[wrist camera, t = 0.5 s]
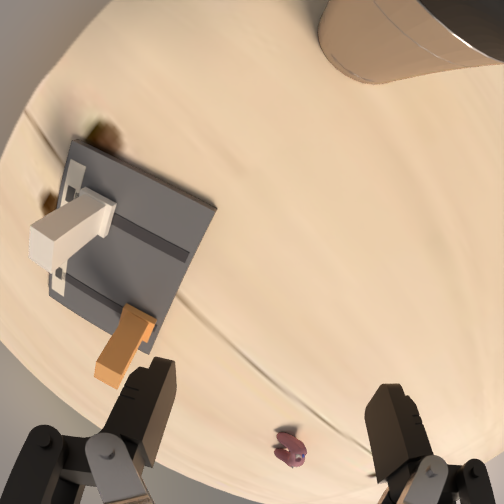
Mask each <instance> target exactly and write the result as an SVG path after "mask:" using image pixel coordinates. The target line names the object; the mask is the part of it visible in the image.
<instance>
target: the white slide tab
mask: <svg viewBox="0 0 504 504" xmlns="http://www.w3.org/2000/svg"><path fill="white" fill-rule="evenodd" d="M116 204H117V203H115V202H113V201H111V200H109V199H108V198H106V197H104V196H102V195H100V194H98V193H96V192H95V191H93V190H91V189H89V188H87V187H84V188H82V189H80V193H79V197H78V198H76V199H74V200H72V201H71V202H69V203H67V204H65V205H63V206H62V207H60V208H58V209H56V210H55V211H53V212H51V213H50V214H48V215H46V216H45V217H43V218H41V219H40V220H38V221H36V222H35V223H33V224H32V225H30V236H29V259H31V260H32V261H34V262H35V263H36V264H38V265H39V266H40V267H42V268H43V269H45V270H46V271H48V272H49V273H50V274H52V273H53V272H54V271H55V270H56V269H57V268H59V267H60V266H61V265H62V264H63V263H64V262H65V261H66V260H68V259H69V258H70V257H71V256H72V255H73V254H75V253H76V252H77V251H78V250H79V249H81V248H82V247H83V246H84V245H85V244H87V243H88V242H89V241H90V240H91V239H93V238H94V237H95V236H96V235H99V236H101V237H102V238H104V237H105V236H107V235H108V232H109V229H110V225H111V221H112V218H113V214H114V211H115V208H116Z"/></svg>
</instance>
